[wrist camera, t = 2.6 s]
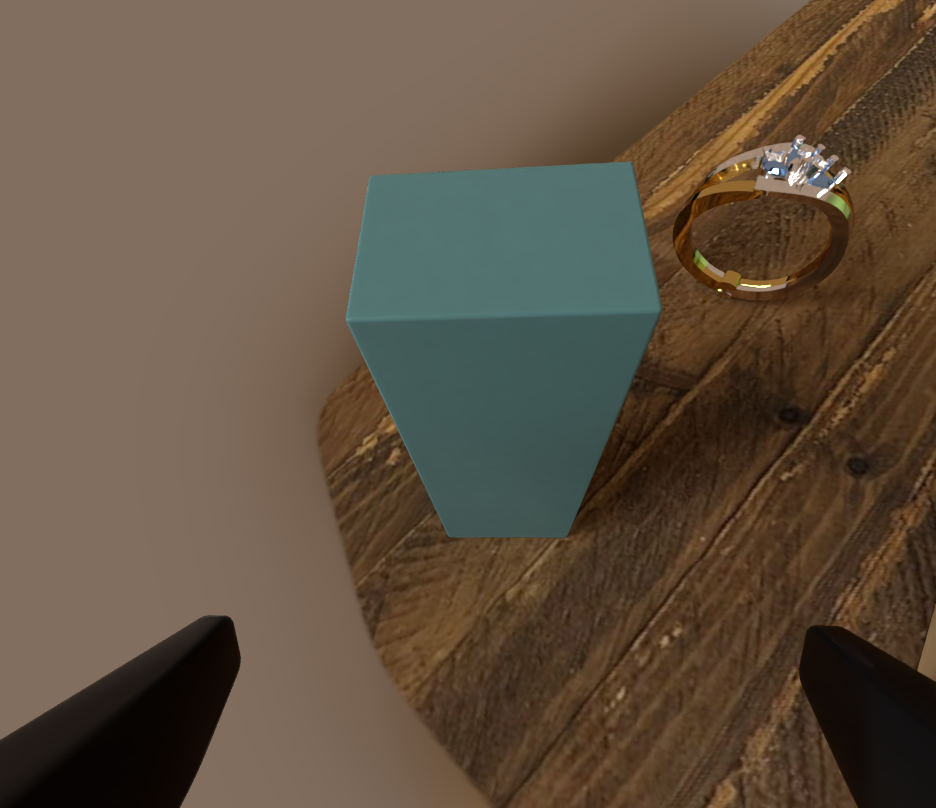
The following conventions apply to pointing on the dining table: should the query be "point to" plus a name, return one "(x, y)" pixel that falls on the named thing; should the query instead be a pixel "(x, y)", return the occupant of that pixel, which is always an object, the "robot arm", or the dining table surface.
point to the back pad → (505, 331)
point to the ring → (782, 176)
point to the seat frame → (929, 651)
